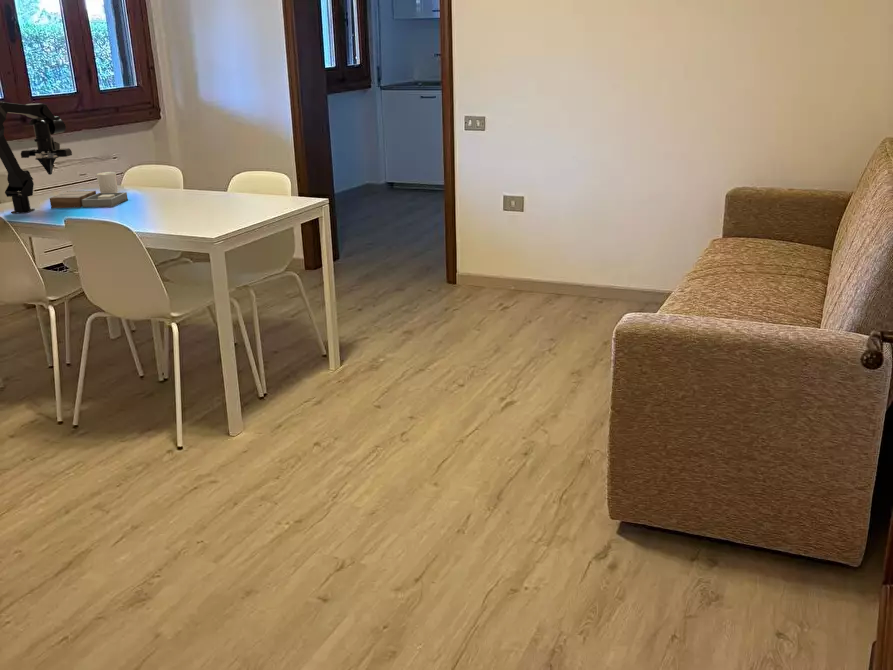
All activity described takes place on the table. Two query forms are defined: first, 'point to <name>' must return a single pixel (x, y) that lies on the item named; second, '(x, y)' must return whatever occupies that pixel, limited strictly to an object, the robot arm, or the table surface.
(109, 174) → the white cup
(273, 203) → the table surface
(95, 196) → the box
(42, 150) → the robot arm
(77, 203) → the plate
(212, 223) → the table surface
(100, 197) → the tile
